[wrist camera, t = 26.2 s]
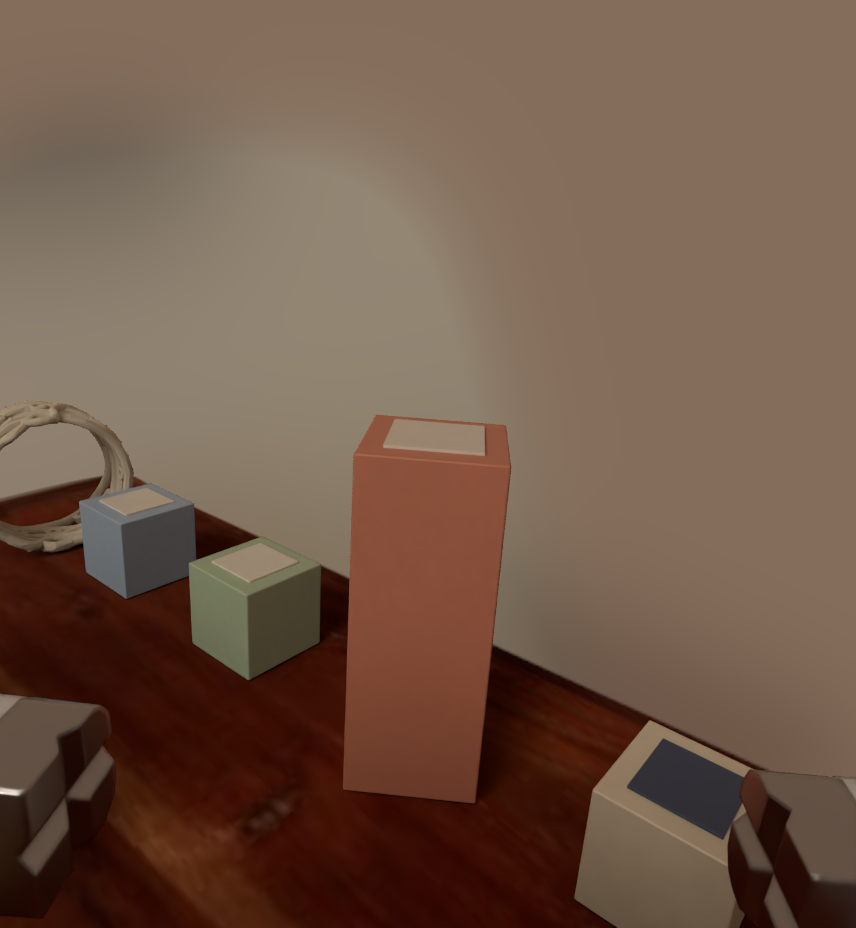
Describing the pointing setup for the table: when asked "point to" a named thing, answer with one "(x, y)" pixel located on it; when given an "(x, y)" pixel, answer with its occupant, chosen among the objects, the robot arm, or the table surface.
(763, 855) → the robot arm
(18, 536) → the bracelet
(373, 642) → the tall block
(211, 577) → the block
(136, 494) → the block
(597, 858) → the block
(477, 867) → the table surface
